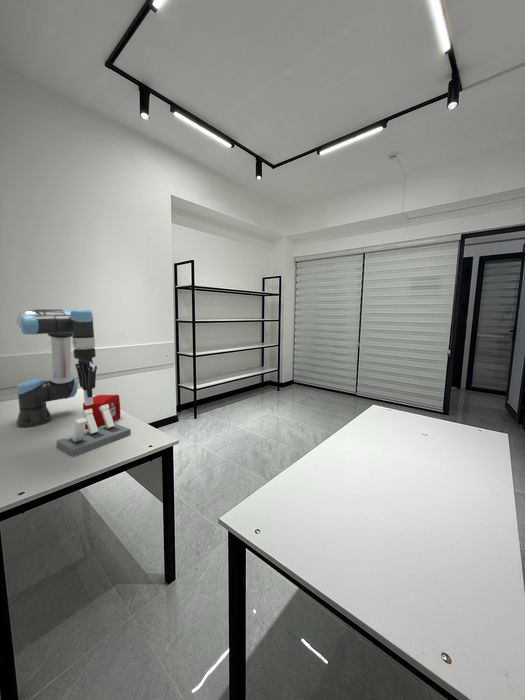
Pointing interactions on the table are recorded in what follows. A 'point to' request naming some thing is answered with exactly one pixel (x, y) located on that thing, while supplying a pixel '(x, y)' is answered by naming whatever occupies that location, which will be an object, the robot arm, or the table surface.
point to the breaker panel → (93, 439)
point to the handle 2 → (107, 416)
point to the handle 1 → (90, 421)
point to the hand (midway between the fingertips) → (89, 404)
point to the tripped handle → (79, 429)
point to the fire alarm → (103, 400)
